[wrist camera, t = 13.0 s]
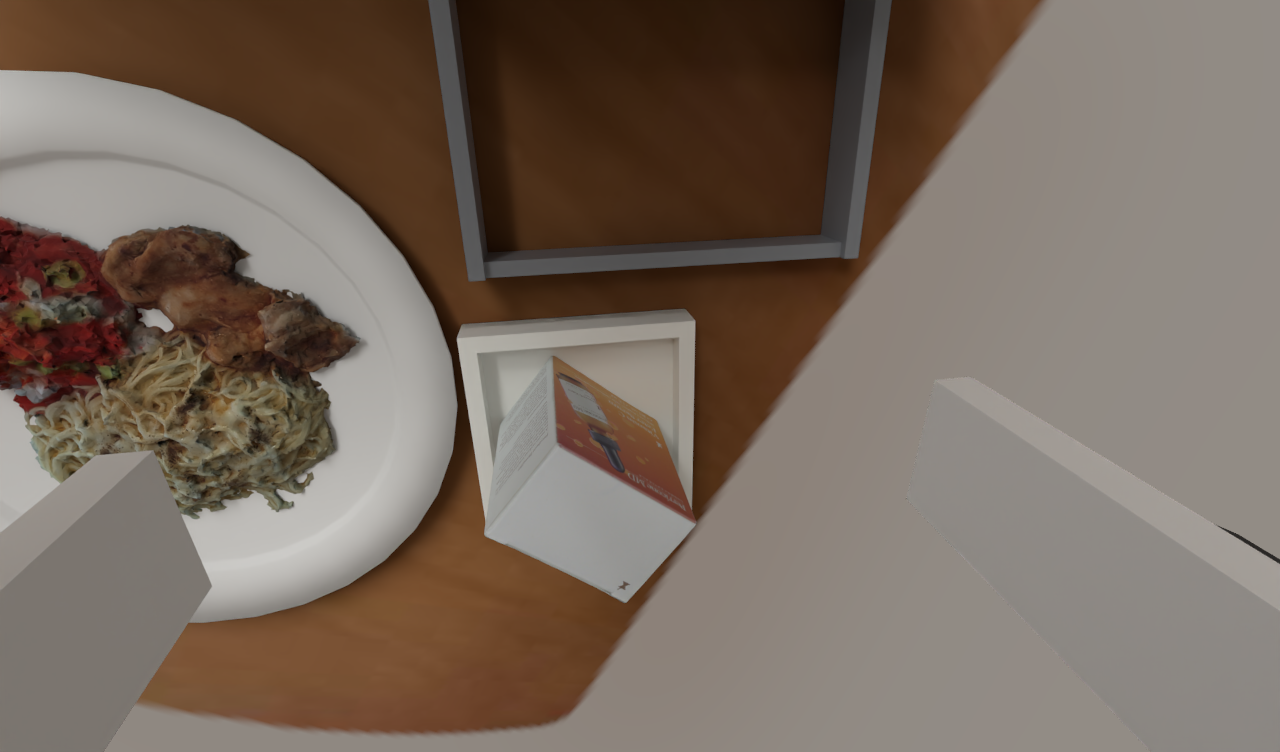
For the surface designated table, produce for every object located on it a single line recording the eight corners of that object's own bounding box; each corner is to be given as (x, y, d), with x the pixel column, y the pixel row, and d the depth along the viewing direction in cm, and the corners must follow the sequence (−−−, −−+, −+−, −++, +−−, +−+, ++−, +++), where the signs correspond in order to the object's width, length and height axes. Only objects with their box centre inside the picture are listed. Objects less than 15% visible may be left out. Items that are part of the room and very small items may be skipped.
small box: (658, 419, 35) (703, 525, 26) (604, 484, 37) (628, 608, 27) (551, 350, 33) (557, 441, 23) (496, 423, 34) (481, 539, 24)
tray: (490, 512, 37) (487, 536, 35) (462, 324, 32) (456, 338, 30) (683, 489, 39) (691, 510, 37) (684, 308, 34) (695, 320, 32)
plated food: (414, 621, 40) (405, 662, 37) (-147, 568, 32) (-220, 614, 29) (511, 191, 30) (508, 198, 27) (-271, -44, 22) (-401, -72, 19)
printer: (474, 268, 31) (450, 322, 22) (393, -323, 22) (298, -623, 13) (832, 247, 34) (934, 288, 25) (891, -280, 25) (1083, -501, 16)
